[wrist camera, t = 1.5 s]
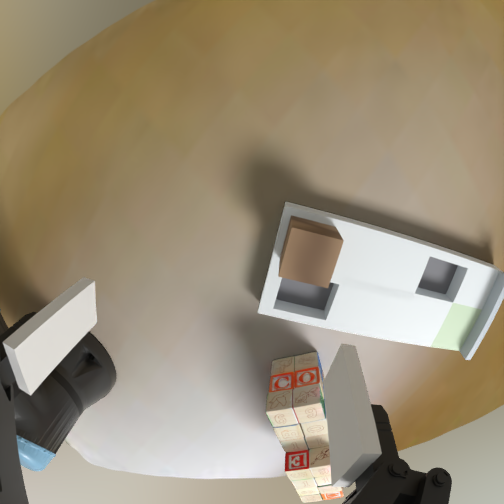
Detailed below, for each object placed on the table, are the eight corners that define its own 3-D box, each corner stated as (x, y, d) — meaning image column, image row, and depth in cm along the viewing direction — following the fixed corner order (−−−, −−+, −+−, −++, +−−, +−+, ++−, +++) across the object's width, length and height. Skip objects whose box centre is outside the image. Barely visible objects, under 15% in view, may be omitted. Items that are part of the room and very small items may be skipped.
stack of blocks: (270, 359, 38) (262, 432, 26) (317, 349, 37) (324, 423, 25) (303, 445, 44) (302, 504, 33) (339, 439, 43) (344, 498, 31)
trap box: (259, 302, 35) (255, 322, 31) (285, 201, 31) (285, 210, 27) (457, 341, 34) (470, 360, 30) (493, 264, 30) (512, 278, 26)
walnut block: (279, 258, 30) (278, 276, 26) (291, 215, 29) (291, 227, 25) (322, 268, 30) (327, 288, 26) (335, 226, 29) (343, 240, 24)
